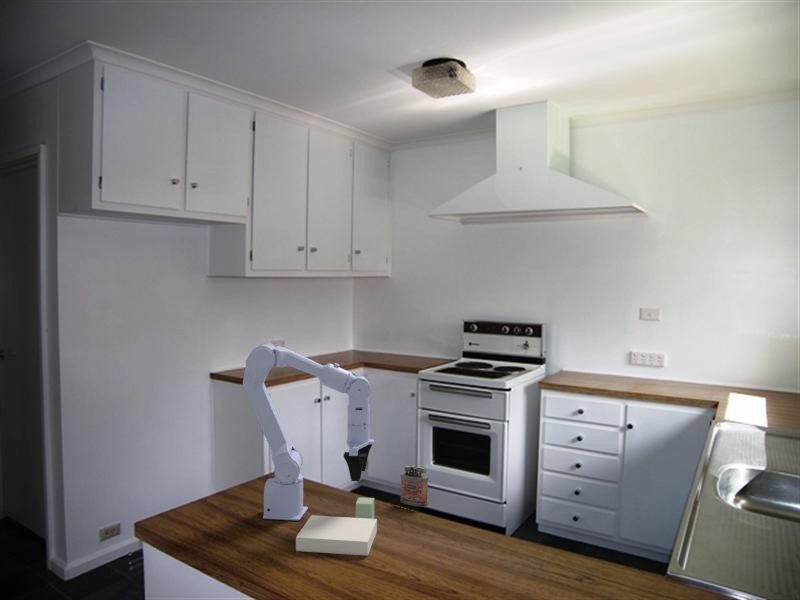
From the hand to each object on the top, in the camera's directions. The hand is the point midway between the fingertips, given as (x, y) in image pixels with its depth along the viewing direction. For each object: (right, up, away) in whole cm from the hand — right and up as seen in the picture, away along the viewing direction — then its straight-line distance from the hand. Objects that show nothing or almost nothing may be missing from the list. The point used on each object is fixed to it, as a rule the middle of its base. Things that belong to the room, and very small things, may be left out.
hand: (358, 475), depth 143 cm
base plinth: (-3, -10, -16) cm, 19 cm away
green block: (+2, -10, -5) cm, 11 cm away
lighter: (+15, -10, +7) cm, 19 cm away
